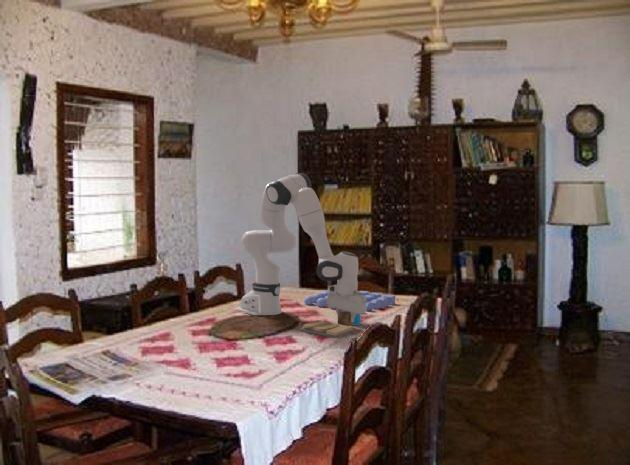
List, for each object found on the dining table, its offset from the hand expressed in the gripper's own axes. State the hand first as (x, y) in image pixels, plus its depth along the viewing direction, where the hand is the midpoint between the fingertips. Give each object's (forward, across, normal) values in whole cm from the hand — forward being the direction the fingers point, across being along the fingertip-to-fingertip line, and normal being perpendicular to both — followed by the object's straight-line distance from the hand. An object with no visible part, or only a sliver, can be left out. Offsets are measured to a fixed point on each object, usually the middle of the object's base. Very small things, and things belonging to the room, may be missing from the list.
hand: (345, 320), depth 303 cm
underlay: (+3, 0, +12) cm, 12 cm away
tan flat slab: (+2, +3, +13) cm, 13 cm away
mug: (+4, +5, -10) cm, 12 cm away
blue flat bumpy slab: (+5, +32, -40) cm, 51 cm away
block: (+2, 0, 0) cm, 2 cm away
